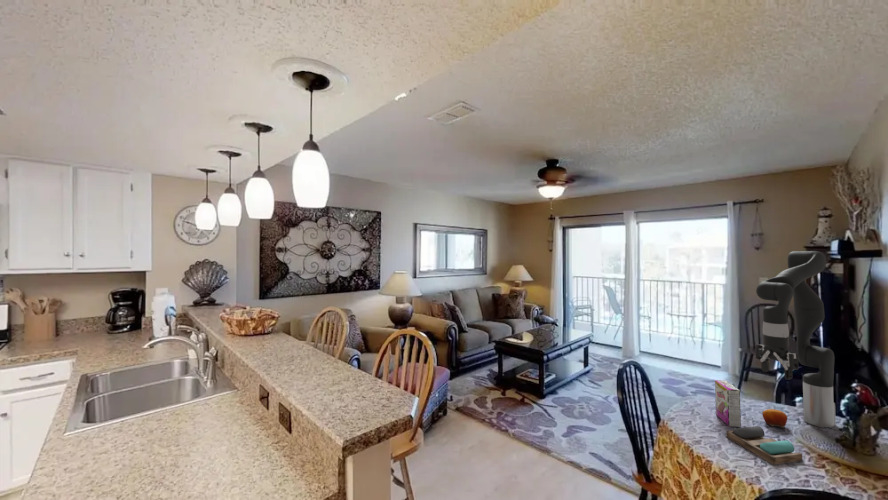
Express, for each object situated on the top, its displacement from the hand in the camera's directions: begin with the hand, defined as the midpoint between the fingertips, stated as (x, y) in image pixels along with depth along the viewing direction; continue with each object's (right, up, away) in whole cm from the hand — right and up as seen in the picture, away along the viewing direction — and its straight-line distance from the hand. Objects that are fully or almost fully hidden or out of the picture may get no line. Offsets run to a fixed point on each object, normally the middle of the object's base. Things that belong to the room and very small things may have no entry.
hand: (776, 375), depth 143 cm
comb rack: (-6, -28, 0) cm, 29 cm away
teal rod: (-5, -27, -5) cm, 28 cm away
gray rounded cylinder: (-6, -27, +5) cm, 28 cm away
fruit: (+14, -27, +16) cm, 35 cm away
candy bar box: (-3, -28, +21) cm, 35 cm away
